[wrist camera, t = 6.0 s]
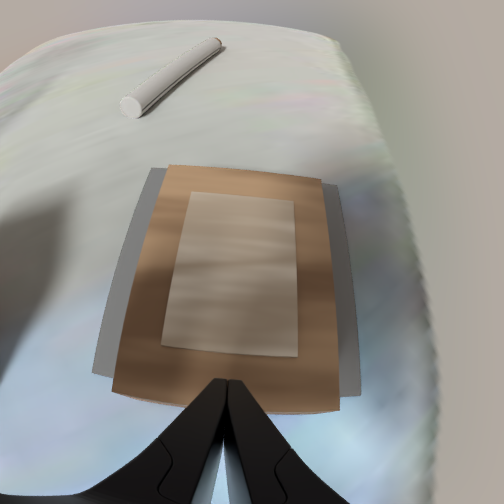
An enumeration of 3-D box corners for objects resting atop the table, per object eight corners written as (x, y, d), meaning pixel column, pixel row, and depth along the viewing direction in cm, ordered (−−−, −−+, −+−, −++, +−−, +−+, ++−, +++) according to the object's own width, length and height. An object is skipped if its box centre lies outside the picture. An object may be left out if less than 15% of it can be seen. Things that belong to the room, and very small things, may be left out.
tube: (206, 50, 42) (121, 119, 29) (207, 35, 40) (117, 96, 26) (222, 52, 42) (142, 121, 29) (223, 37, 40) (139, 98, 26)
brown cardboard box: (341, 410, 11) (321, 177, 19) (110, 391, 11) (168, 162, 18) (313, 414, 15) (306, 217, 22) (135, 399, 14) (174, 204, 22)
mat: (359, 395, 16) (361, 395, 15) (93, 373, 15) (91, 372, 15) (335, 187, 25) (336, 185, 25) (151, 170, 24) (151, 167, 24)
